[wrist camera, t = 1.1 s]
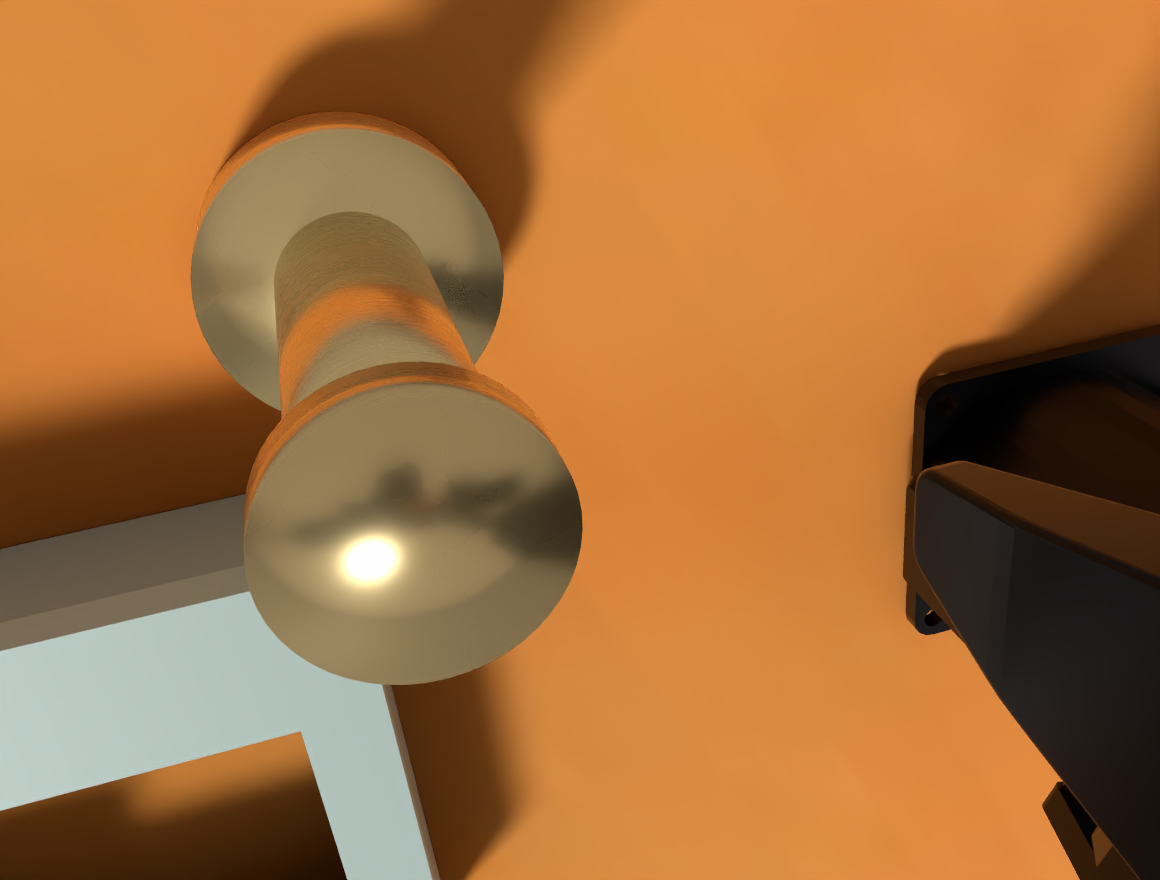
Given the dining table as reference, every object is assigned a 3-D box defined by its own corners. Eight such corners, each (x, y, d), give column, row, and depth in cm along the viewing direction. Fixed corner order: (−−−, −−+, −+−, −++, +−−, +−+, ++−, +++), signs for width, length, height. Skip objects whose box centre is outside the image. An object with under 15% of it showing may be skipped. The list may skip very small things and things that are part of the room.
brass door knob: (461, 88, 18) (638, 262, 10) (503, 356, 20) (675, 678, 12) (157, 138, 17) (73, 374, 9) (238, 412, 19) (229, 799, 11)
